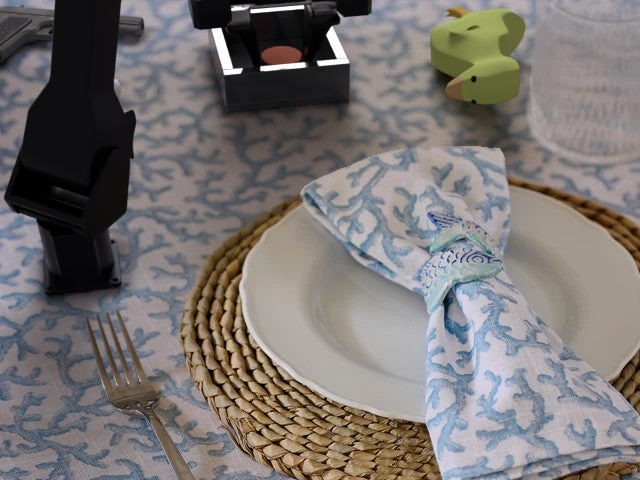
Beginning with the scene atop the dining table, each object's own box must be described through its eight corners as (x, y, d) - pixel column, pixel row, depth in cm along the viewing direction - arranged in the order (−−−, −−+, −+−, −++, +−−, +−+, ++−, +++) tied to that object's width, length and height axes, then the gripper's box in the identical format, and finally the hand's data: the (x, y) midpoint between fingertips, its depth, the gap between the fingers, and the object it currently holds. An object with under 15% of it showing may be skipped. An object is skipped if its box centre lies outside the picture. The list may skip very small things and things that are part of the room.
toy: (373, 15, 117) (457, 71, 102) (498, -14, 121) (595, 36, 107) (376, 68, 120) (458, 129, 106) (497, 37, 125) (592, 92, 110)
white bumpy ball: (113, 110, 109) (109, 86, 107) (90, 104, 110) (85, 80, 108) (128, 97, 111) (124, 73, 109) (105, 92, 112) (101, 68, 110)
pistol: (116, 58, 114) (146, 12, 122) (-41, 44, 115) (-1, -1, 124) (118, 74, 115) (148, 27, 124) (-37, 60, 116) (3, 14, 125)
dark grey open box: (349, 100, 112) (350, 63, 109) (227, 113, 109) (224, 75, 106) (321, 38, 122) (321, 2, 119) (209, 48, 120) (206, 12, 117)
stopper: (305, 88, 111) (305, 63, 109) (266, 92, 110) (264, 66, 108) (298, 69, 114) (297, 44, 112) (259, 72, 113) (258, 47, 111)
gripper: (350, -105, 108) (348, 32, 119) (174, -94, 105) (189, 46, 116) (375, -65, 100) (370, 78, 111) (186, -51, 97) (201, 95, 108)
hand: (282, 73), depth 112 cm, fingers open, 5 cm apart
